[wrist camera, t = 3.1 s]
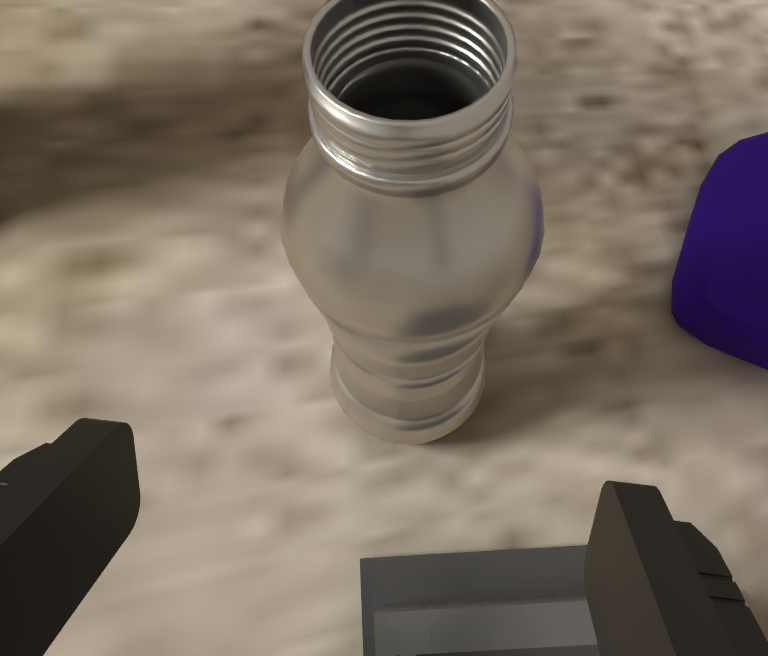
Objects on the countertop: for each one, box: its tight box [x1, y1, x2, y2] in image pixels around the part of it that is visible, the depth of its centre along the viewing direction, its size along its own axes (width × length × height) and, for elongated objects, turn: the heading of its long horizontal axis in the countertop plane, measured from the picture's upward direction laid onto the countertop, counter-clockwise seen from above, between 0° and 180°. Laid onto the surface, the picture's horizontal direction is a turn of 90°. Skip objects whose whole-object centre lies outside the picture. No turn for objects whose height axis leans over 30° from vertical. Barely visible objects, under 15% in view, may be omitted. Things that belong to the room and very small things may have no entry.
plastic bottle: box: [281, 0, 544, 445], centre depth 20 cm, size 6×7×20 cm
